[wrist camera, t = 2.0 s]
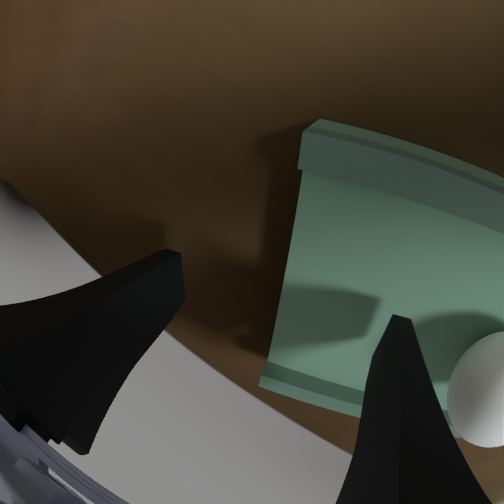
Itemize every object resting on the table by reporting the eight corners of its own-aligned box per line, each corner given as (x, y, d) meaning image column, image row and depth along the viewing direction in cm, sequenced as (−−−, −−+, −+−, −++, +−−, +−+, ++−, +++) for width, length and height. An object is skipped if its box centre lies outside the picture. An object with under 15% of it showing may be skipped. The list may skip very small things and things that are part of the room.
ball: (554, 320, 7) (581, 408, 4) (500, 386, 10) (505, 467, 6) (478, 293, 8) (498, 397, 5) (428, 369, 11) (421, 459, 7)
